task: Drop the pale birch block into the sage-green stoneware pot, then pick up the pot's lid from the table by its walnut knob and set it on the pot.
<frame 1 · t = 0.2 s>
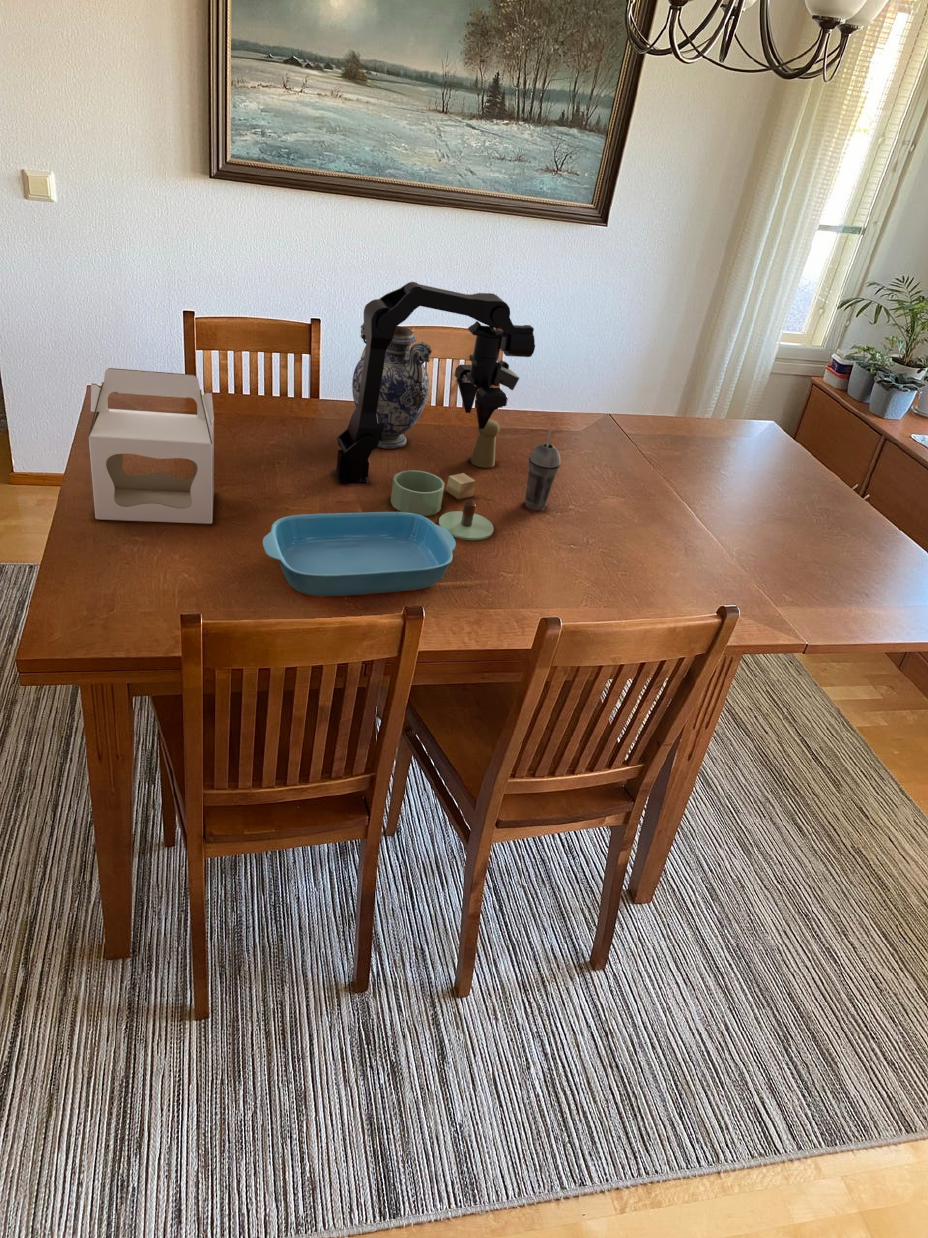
hand: (474, 420, 207), 15 cm above the table, tool pointing down, fingers open, 9 cm apart
beverage cup: (534, 508, 207), on the table
casserole dish: (359, 572, 172), on the table
gable box: (157, 507, 180), on the table
block: (459, 495, 206), on the table
pepper mill: (482, 463, 224), on the table
decorative vase: (384, 441, 226), on the table
pot: (415, 505, 198), on the table
lid: (465, 526, 193), point 1 cm above the table
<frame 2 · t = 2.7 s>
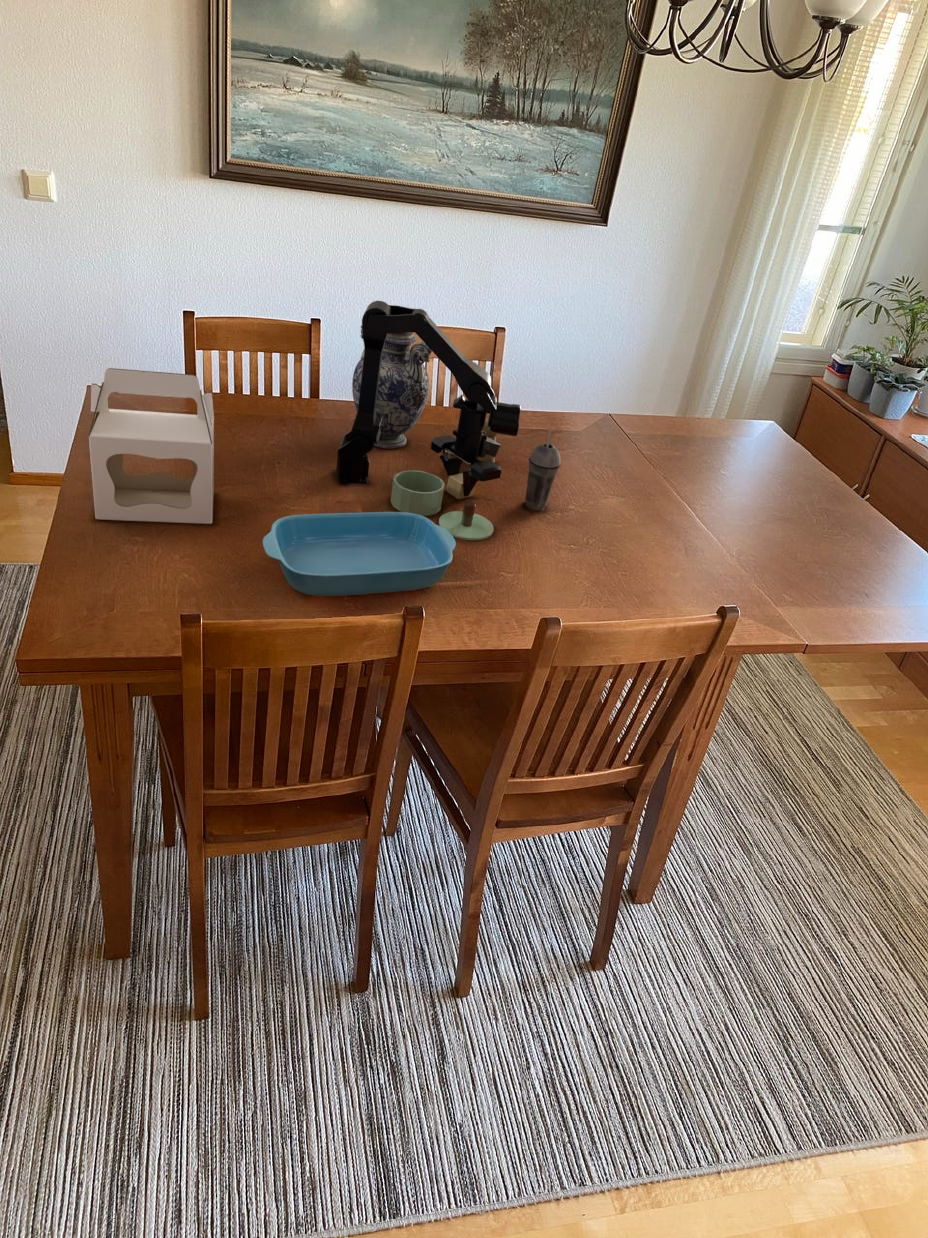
hand: (459, 491, 205), 1 cm above the table, tool pointing down, fingers closed on block, 4 cm apart
block: (459, 495, 206), on the table, touching gripper
everything else where it was.
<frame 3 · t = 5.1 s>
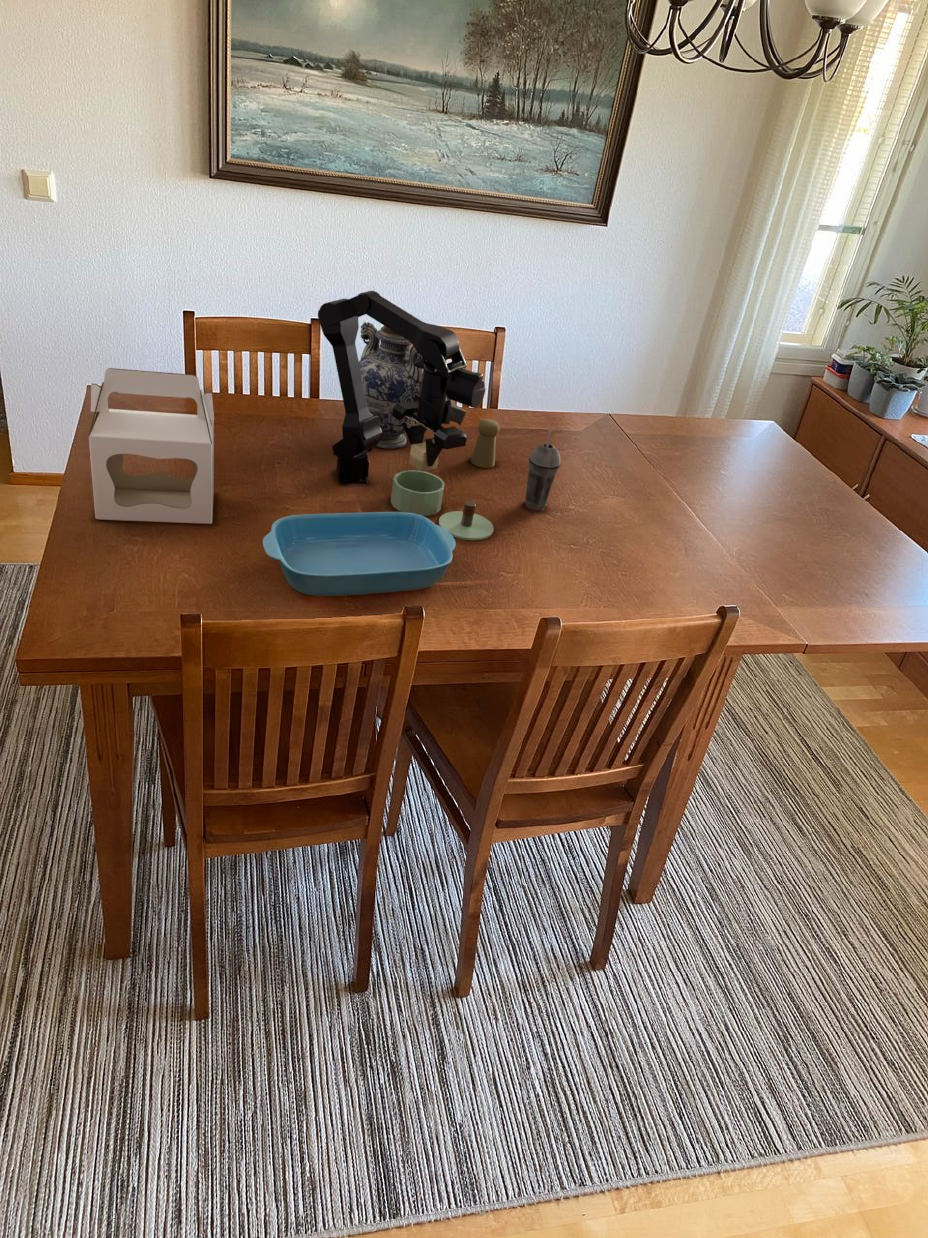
hand: (423, 461, 193), 11 cm above the table, tool pointing down, fingers closed on block, 4 cm apart
block: (422, 465, 193), point 10 cm above the table, touching gripper
everything else where it was.
when the fingers open (4 cm above the table, at t = 7.8 s): block stays where it is, resting on pot.
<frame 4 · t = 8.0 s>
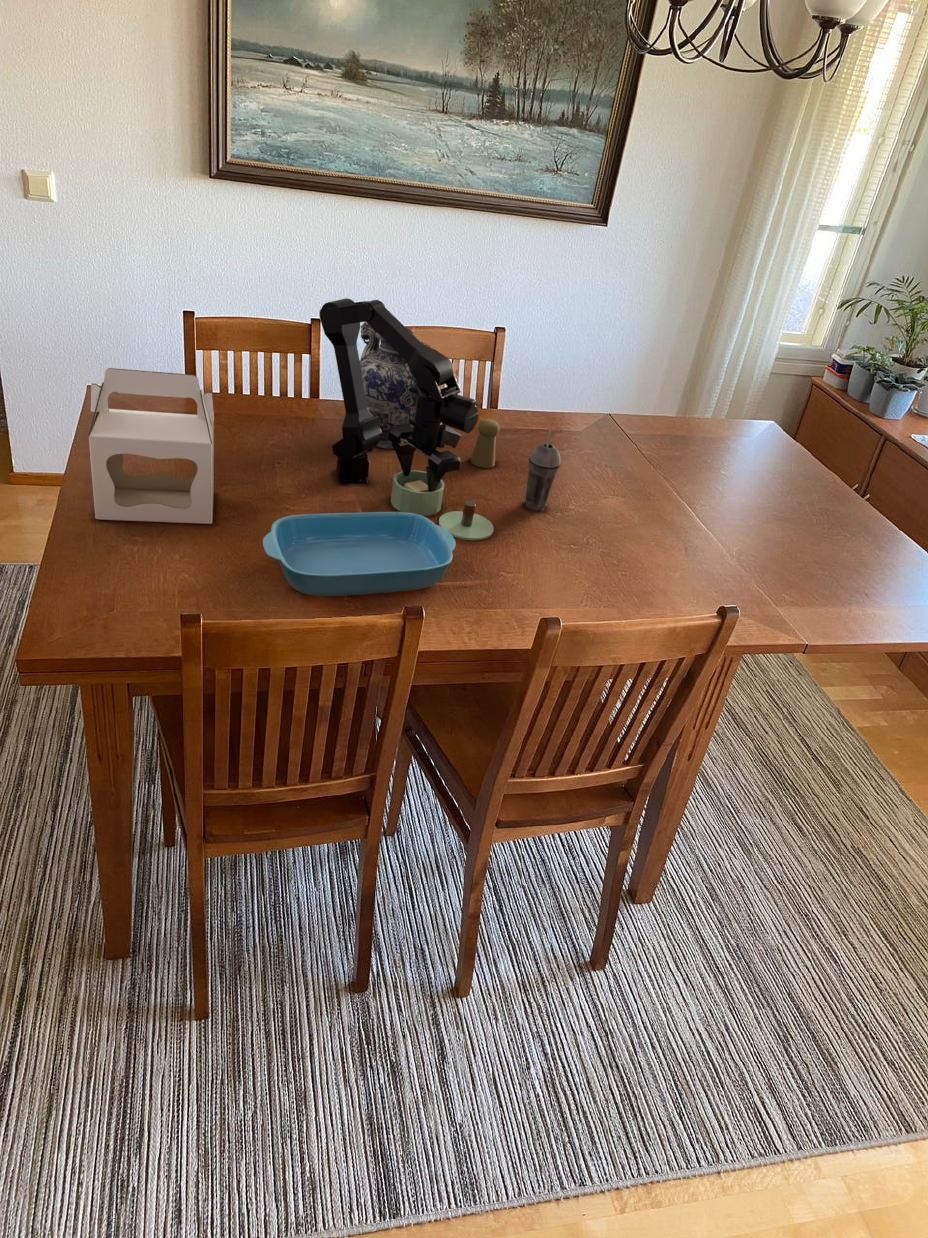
hand: (418, 484, 195), 5 cm above the table, tool pointing down, fingers open, 9 cm apart
block: (415, 503, 198), point 1 cm above the table, touching pot
everything else where it was.
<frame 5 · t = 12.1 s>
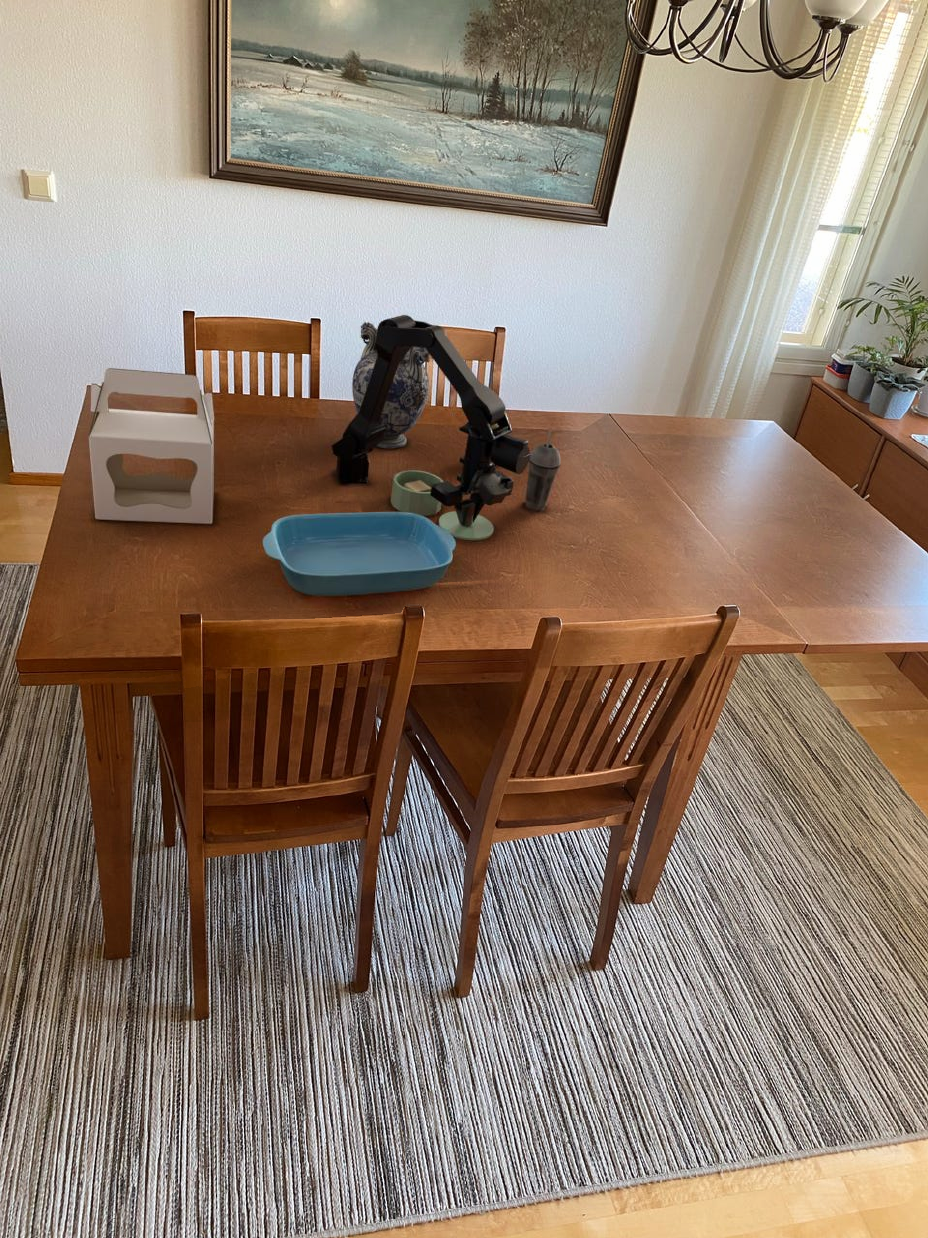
hand: (466, 523, 192), 1 cm above the table, tool pointing down, fingers closed on lid, 2 cm apart
lid: (465, 526, 193), point 1 cm above the table, touching gripper
everything else where it was.
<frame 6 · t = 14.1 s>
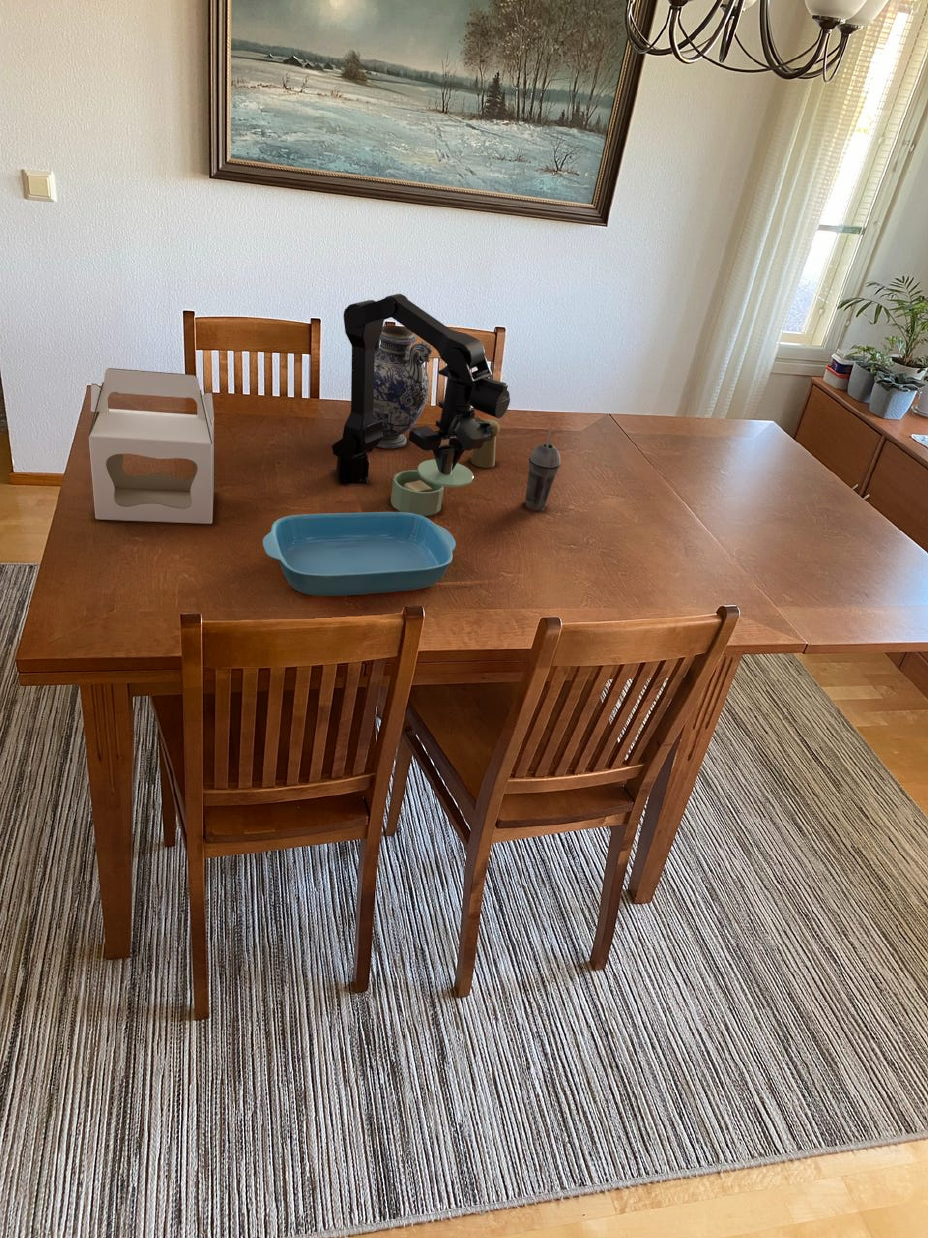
hand: (445, 470, 190), 11 cm above the table, tool pointing down, fingers closed on lid, 2 cm apart
lid: (445, 474, 190), point 10 cm above the table, touching gripper
everything else where it was.
when the fingers open (7 cm above the table, at t = 16.3 s): lid stays where it is, resting on pot.
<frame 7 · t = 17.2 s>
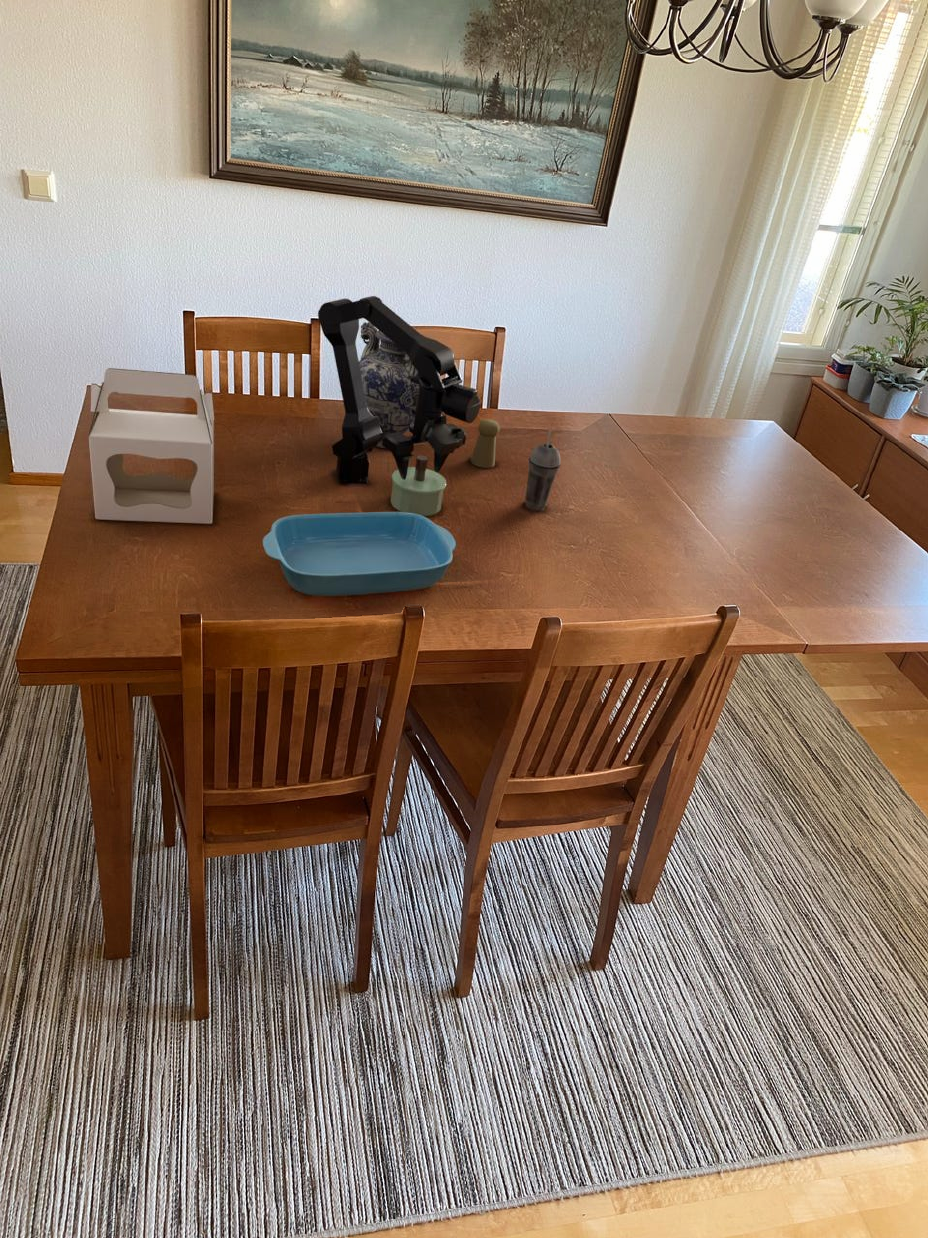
hand: (420, 475, 194), 7 cm above the table, tool pointing down, fingers open, 9 cm apart
lid: (419, 481, 195), point 6 cm above the table, touching pot
everything else where it was.
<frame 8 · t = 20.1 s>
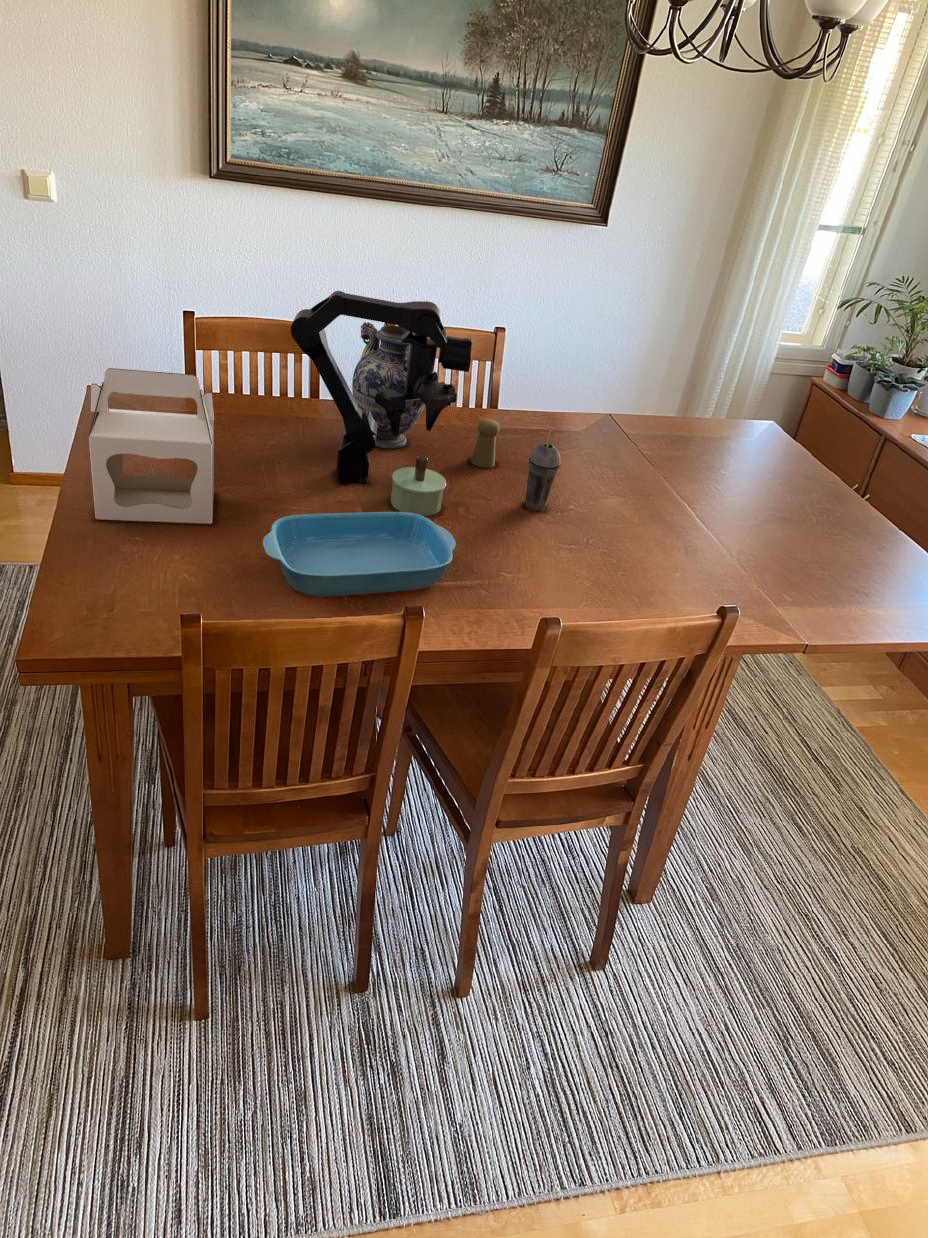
hand: (412, 432, 199), 13 cm above the table, tool pointing down, fingers open, 9 cm apart
nothing on the table moved.
at the end: block inside the target area in the pot (0.0 cm from its centre), point 0.5 cm above the pot's base; lid 0.0 cm off-centre on the pot, point 6.0 cm above the pot's base; lid tilted 0° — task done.
